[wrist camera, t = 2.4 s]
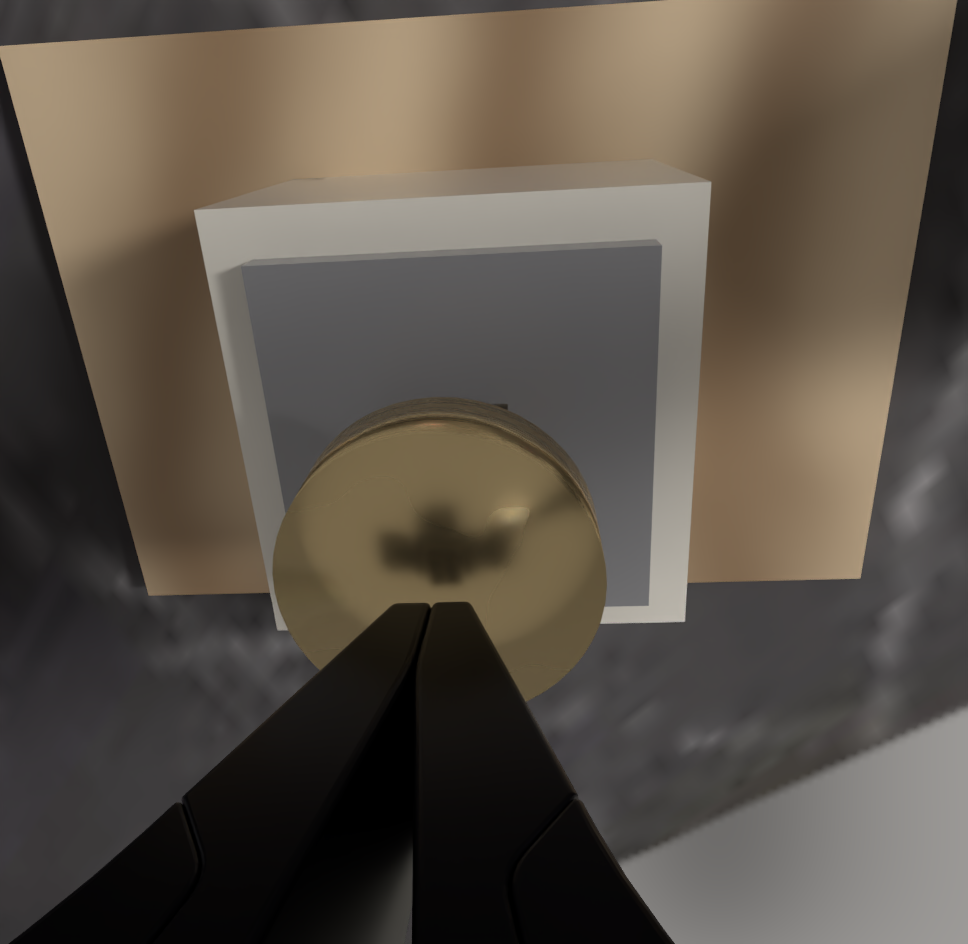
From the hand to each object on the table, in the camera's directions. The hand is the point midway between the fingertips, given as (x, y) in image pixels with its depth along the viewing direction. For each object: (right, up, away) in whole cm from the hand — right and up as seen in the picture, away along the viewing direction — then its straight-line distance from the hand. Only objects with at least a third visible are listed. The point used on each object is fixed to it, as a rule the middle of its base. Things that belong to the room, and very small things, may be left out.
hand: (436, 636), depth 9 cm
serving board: (0, +5, +11) cm, 13 cm away
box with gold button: (0, +5, +11) cm, 12 cm away
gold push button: (0, +3, +7) cm, 8 cm away
